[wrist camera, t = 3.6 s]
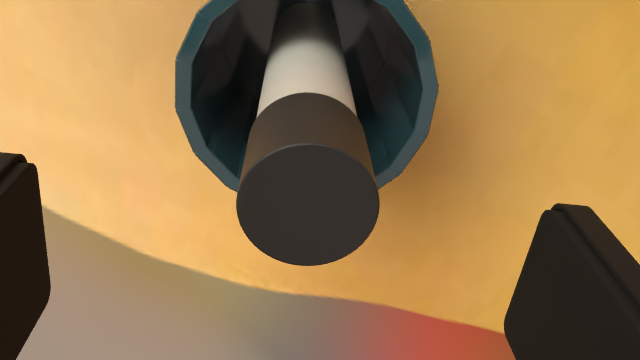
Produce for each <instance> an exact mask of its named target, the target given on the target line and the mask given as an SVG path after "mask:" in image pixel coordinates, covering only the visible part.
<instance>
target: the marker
mask: <svg viewBox="0 0 640 360" xmlns="http://www.w3.org/2000/svg"><path fill="white" fill-rule="evenodd" d="M379 206H380V205H379V194H378V188H377V184H376V180H375V175H374V171H373V167H372V162H371V158H370V154H369V149H368V145H367V141H366V136H365V133H364V130H363V127H362V125H361V123H360V121H359V119H358V118H357V114H356V109H355V104H354V100H353V95H352V90H351V86H350V81H349V76H348V72H347V67H346V62H345V58H344V53H343V48H342V44H341V39H340V35H339V30H338V26H337V23H336V21H335V19H334V18H333V16H332V15H331V14H330V13H329V12H328V11H327V10H326V9H324V8H323V7H321V6H319V5H316V4H312V3H299V4H295V5H292V6H290V7H288V8H287V9H285V10H284V11H283V12H282V13H281V14H280V15H279V17H278V18H277V20H276V22H275V24H274V27H273V32H272V37H271V42H270V48H269V53H268V59H267V64H266V69H265V75H264V80H263V85H262V91H261V96H260V101H259V107H258V112H257V117H256V120H255V121H254V123H253V126H252V128H251V131H250V134H249V138H248V143H247V148H246V153H245V158H244V163H243V168H242V173H241V178H240V183H239V188H238V193H237V199H236V209H237V215H238V219H239V222H240V225H241V227H242V229H243V231H244V233H245V234H246V236H247V237H248V239H249V240H250V241H251V242H252V243H253V244H254V245H255V246H256V247H257V248H258V249H259V250H261V251H262V252H263V253H265V254H266V255H268V256H270V257H272V258H274V259H276V260H279V261H281V262H284V263H288V264H293V265H300V266H314V265H322V264H327V263H330V262H334V261H337V260H339V259H341V258H343V257H345V256H347V255H349V254H350V253H352V252H353V251H355V250H356V249H357V248H358V247H359V246H360V245H362V244H363V243H364V241H365V240H366V239H367V238H368V236H369V235H370V233H371V232H372V230H373V228H374V226H375V224H376V221H377V218H378V214H379Z"/></svg>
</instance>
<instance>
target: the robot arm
mask: <svg viewBox="0 0 640 360" xmlns="http://www.w3.org/2000/svg"><path fill="white" fill-rule="evenodd" d="M50 288H51V286H50V275H49V266H48V258H47V249H46V241H45V232H44V224H43V215H42V206H41V198H40V189H39V180H38V172H37V168H36V166H35V165H34V164H33V163H27V160H26V158H25V157H24V156H23V155H22V154H13V153H2V152H0V360H16V358H17V356H18V355H19V353H20V351H21V349H22V347H23V346H24V344H25V342H26V341H27V339H28V337H29V335H30V333H31V332H32V330H33V328H34V326H35V325H36V322H37V321H38V319H39V318H40V316H41V314H42V312H43V310H44V309H45V307H46V305H47V303H48V300H49V296H50ZM504 331H505V335H506V338H507V340H508V343H509V345H510V347H511V349H512V352H513V354H514V356H515V358H516V360H640V265H639V263H638V262H637V261H636V260H635V259H634V258H633V256H632V255H631V254H630V253H629V252H628V251H627V250H626V248H625V247H624V246H623V245H622V244H621V243H620V241H619V240H618V239H617V238H616V237H615V236H614V234H613V233H612V232H611V231H610V230H609V229H608V228H607V226H606V225H605V224H604V223H603V222H602V221H601V219H600V218H599V217H598V216H597V215H596V214H595V213H594V211H593V210H592V209H591V208H590V207H588V206H581V205H570V204H559V203H557V204H555V205H554V206H553V207H552V208H551V210H546V211H544V212H543V213H542V215H541V218H540V220H539V223H538V226H537V229H536V232H535V234H534V237H533V240H532V243H531V246H530V248H529V251H528V254H527V257H526V260H525V263H524V265H523V268H522V271H521V274H520V277H519V279H518V282H517V285H516V288H515V291H514V294H513V296H512V299H511V302H510V305H509V308H508V310H507V313H506V316H505V320H504Z"/></svg>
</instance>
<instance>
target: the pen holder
mask: <svg viewBox="0 0 640 360" xmlns="http://www.w3.org/2000/svg"><path fill="white" fill-rule="evenodd" d="M299 3H312V4H316V5H319V6H321V7H323V8H324V9H326V10H327V11H328V12H329V13H330V14H331V15H332V16H333V18H334V19H335V21H336V23H337V26H338V30H339V35H340V39H341V44H342V48H343V53H344V58H345V62H346V67H347V72H348V76H349V81H350V86H351V90H352V95H353V100H354V104H355V109H356V114H357V118H358V119H359V121H360V123H361V125H362V127H363V130H364V133H365V136H366V141H367V145H368V149H369V154H370V158H371V162H372V167H373V171H374V175H375V180H376V184H377V188H378V189H379V188H381V187H382V186H384V185H385V184H387V183H388V182H390V181H391V180H393V179H394V178H396V177H397V176H399V175H400V174H401V173H402V172H403V170H404V169H405V167H406V166H407V165H408V163H409V162H410V160H411V159H412V158H413V156H414V155H415V153H416V152H417V150H418V149H419V148H420V146H421V145H422V143H423V142H424V141H425V139H426V138H427V135H428V134H429V129H430V125H431V121H432V116H433V112H434V108H435V103H436V99H437V95H438V87H439V86H438V80H437V75H436V69H435V64H434V59H433V53H432V48H431V42H430V40H429V37H428V35H427V34H426V32H425V31H424V30H423V28H422V27H421V25H420V24H419V22H418V21H417V19H416V18H415V17H414V15H413V14H412V12H411V11H410V9H409V8H408V6H407V5H406V4H405V2H404V1H403V0H205V2H204V3H203V5H202V6H201V7H200V9H199V10H198V11H197V13H196V15H195V17H194V19H193V21H192V24H191V26H190V28H189V30H188V32H187V34H186V37H185V39H184V41H183V43H182V45H181V47H180V50H179V52H178V54H177V56H176V60H175V108H176V112H177V115H178V117H179V119H180V122H181V124H182V127H183V129H184V131H185V134H186V136H187V138H188V141H189V143H190V146H191V148H192V150H193V152H194V153H195V155H196V156H197V157H198V158H199V159H200V160H201V161H202V162H203V163H204V164H205V165H206V166H207V167H208V168H209V169H210V170H211V171H212V172H213V173H214V174H215V175H216V176H217V177H218V178H219V179H220V180H221V181H222V182H223V184H224V185H225V186H227V187H228V188H230V189H232V190H234V191H236V192H238V188H239V183H240V178H241V173H242V168H243V163H244V158H245V153H246V148H247V143H248V138H249V134H250V131H251V128H252V126H253V123H254V121H255V120H256V117H257V112H258V107H259V101H260V96H261V91H262V85H263V80H264V75H265V69H266V64H267V59H268V53H269V48H270V42H271V37H272V32H273V27H274V24H275V22H276V20H277V18H278V17H279V15H280V14H281V13H282V12H283V11H284V10H285V9H287V8H288V7H290V6H292V5H295V4H299Z"/></svg>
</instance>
